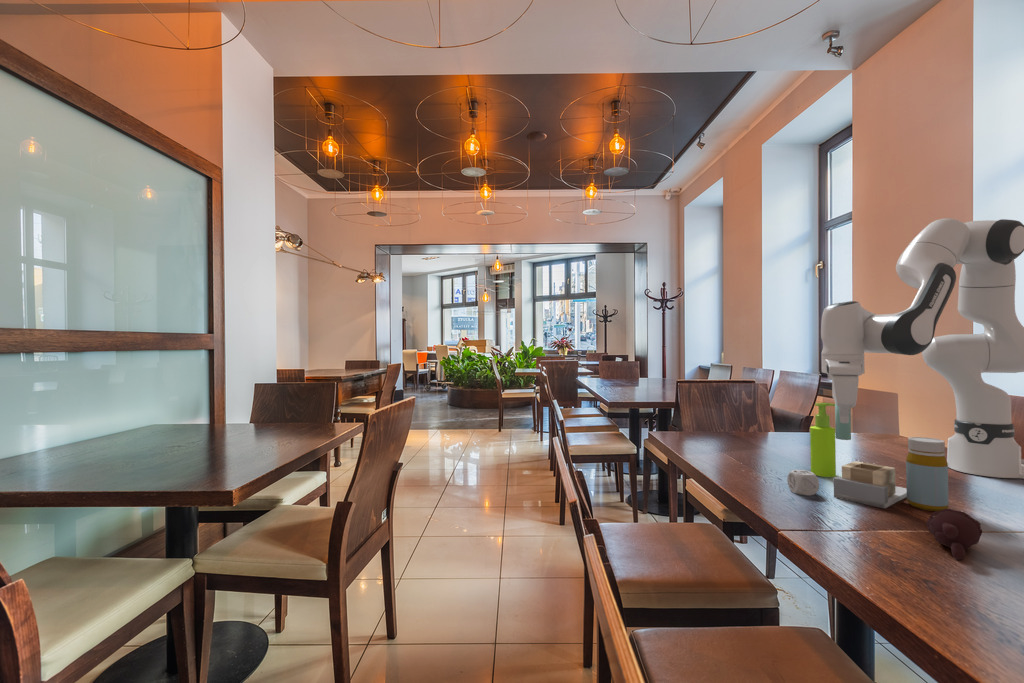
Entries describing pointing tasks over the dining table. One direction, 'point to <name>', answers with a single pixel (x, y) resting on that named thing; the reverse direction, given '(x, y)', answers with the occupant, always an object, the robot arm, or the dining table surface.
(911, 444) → the bottle
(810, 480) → the die
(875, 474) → the block
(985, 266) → the robot arm
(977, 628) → the dining table surface
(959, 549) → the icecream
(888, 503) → the grey l-shaped tray
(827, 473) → the soap dispenser
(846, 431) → the dowel
